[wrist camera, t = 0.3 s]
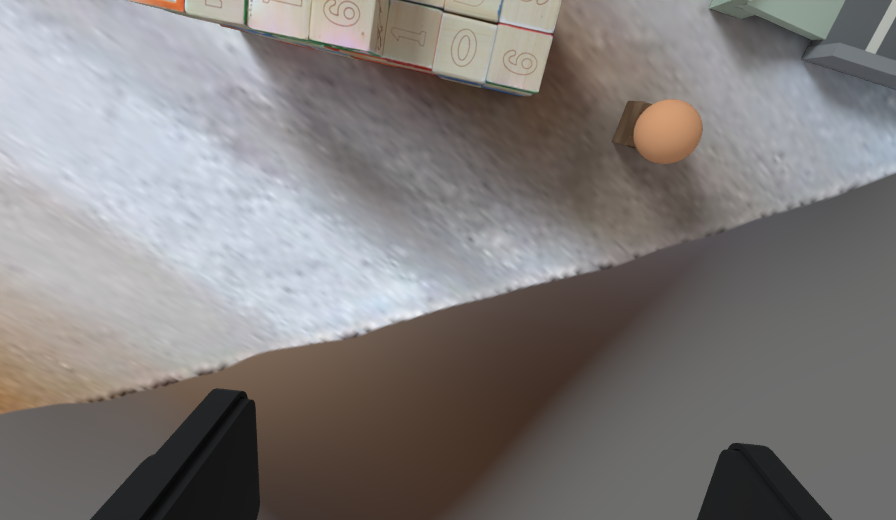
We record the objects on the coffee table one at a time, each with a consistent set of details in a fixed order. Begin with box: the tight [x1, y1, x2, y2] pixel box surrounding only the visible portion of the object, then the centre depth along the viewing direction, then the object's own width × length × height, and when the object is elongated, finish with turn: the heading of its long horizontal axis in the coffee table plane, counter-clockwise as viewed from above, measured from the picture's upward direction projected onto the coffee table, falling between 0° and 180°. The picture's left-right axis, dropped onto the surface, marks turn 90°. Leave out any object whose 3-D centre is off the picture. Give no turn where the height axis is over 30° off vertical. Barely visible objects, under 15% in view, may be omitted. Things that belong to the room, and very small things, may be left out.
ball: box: [634, 99, 702, 164], centre depth 30 cm, size 4×4×4 cm
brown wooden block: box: [612, 101, 652, 149], centre depth 33 cm, size 3×3×4 cm
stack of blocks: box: [127, 0, 562, 96], centre depth 27 cm, size 21×6×12 cm, turn 78°
